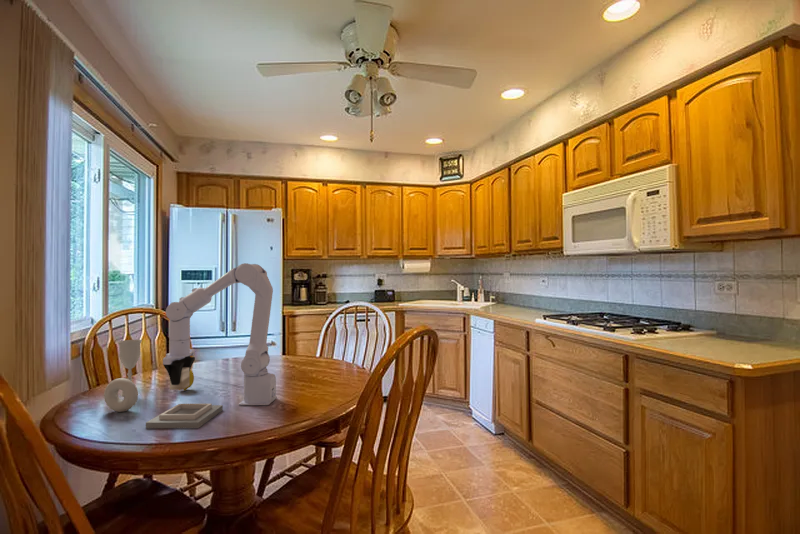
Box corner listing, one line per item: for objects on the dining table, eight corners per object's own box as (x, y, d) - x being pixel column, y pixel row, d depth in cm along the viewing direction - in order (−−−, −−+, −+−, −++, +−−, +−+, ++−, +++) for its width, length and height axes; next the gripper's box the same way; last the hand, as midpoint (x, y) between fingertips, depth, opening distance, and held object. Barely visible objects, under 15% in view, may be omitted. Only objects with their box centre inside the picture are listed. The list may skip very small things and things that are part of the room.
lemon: (186, 393, 138) (186, 369, 138) (172, 392, 139) (172, 369, 139) (197, 388, 143) (197, 366, 143) (184, 387, 144) (184, 365, 144)
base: (222, 410, 120) (222, 401, 120) (198, 428, 106) (198, 417, 106) (176, 410, 120) (176, 401, 120) (145, 428, 106) (145, 417, 106)
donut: (100, 413, 118) (101, 379, 118) (110, 409, 121) (110, 376, 122) (131, 414, 117) (132, 379, 117) (140, 410, 120) (141, 376, 120)
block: (189, 386, 129) (189, 367, 129) (182, 389, 125) (182, 370, 125) (177, 386, 129) (177, 367, 129) (169, 389, 125) (169, 370, 125)
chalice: (112, 395, 135) (112, 342, 136) (132, 390, 142) (132, 339, 142) (126, 397, 133) (127, 343, 133) (146, 392, 139) (146, 340, 139)
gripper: (180, 336, 135) (180, 376, 134) (152, 343, 120) (152, 389, 120) (201, 336, 134) (201, 376, 134) (176, 343, 120) (176, 388, 120)
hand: (179, 382), depth 127 cm, fingers closed on block, 4 cm apart
